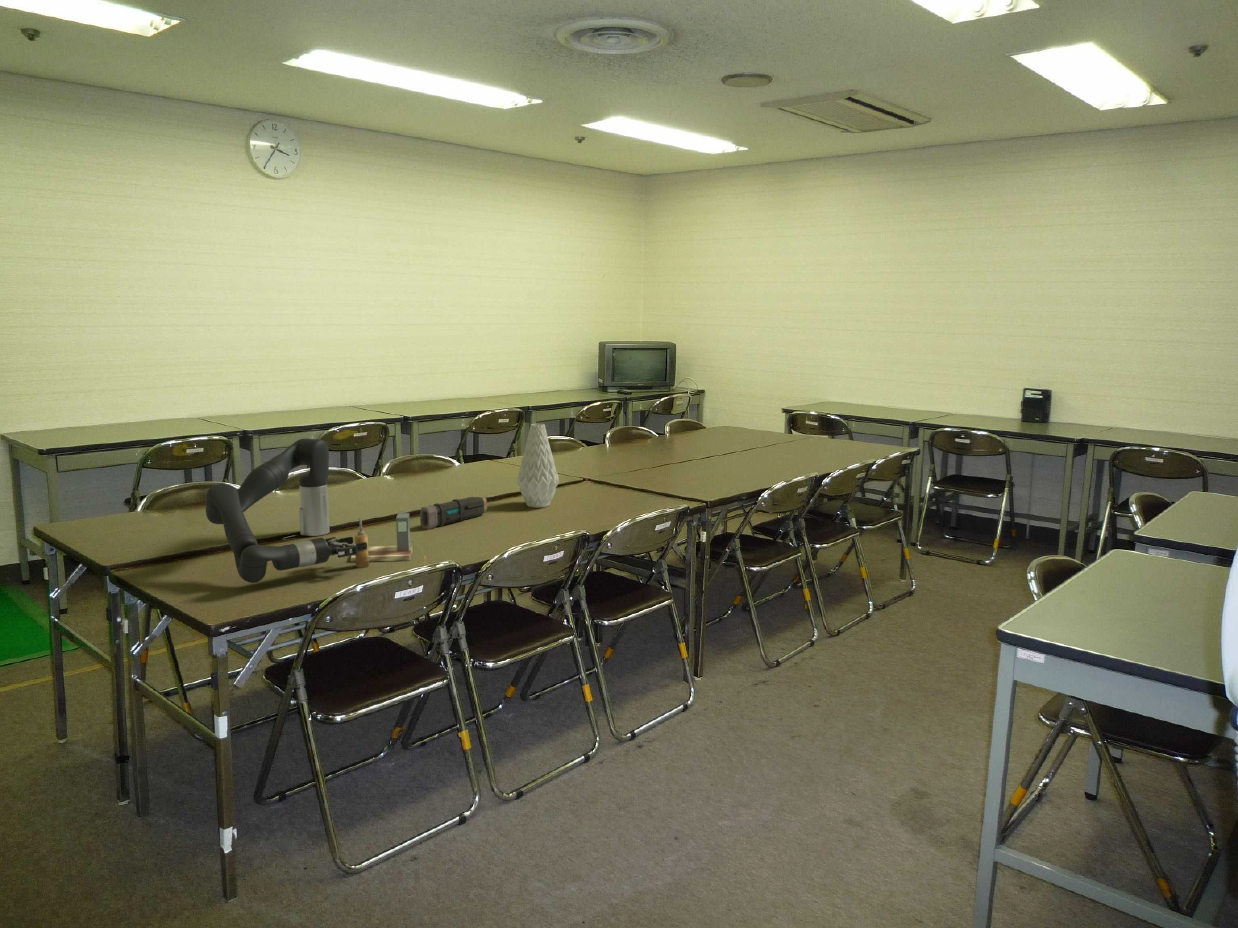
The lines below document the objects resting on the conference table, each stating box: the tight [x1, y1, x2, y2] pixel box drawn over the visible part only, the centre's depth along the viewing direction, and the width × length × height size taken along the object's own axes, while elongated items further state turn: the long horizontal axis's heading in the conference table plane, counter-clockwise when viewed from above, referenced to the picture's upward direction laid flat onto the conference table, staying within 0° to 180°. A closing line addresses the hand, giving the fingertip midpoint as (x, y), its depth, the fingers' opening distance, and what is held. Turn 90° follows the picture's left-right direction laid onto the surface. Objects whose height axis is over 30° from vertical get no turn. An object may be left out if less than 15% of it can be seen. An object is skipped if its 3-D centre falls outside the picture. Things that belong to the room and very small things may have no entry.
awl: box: [354, 517, 369, 569], centre depth 274 cm, size 4×4×15 cm
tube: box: [419, 496, 488, 530], centre depth 330 cm, size 11×7×30 cm
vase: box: [516, 423, 560, 509], centre depth 355 cm, size 17×17×33 cm
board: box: [350, 544, 414, 563], centre depth 286 cm, size 18×12×2 cm, turn 99°
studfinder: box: [395, 512, 411, 551], centre depth 288 cm, size 4×6×11 cm, turn 9°
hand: (359, 542), depth 273 cm, fingers open, 8 cm apart
